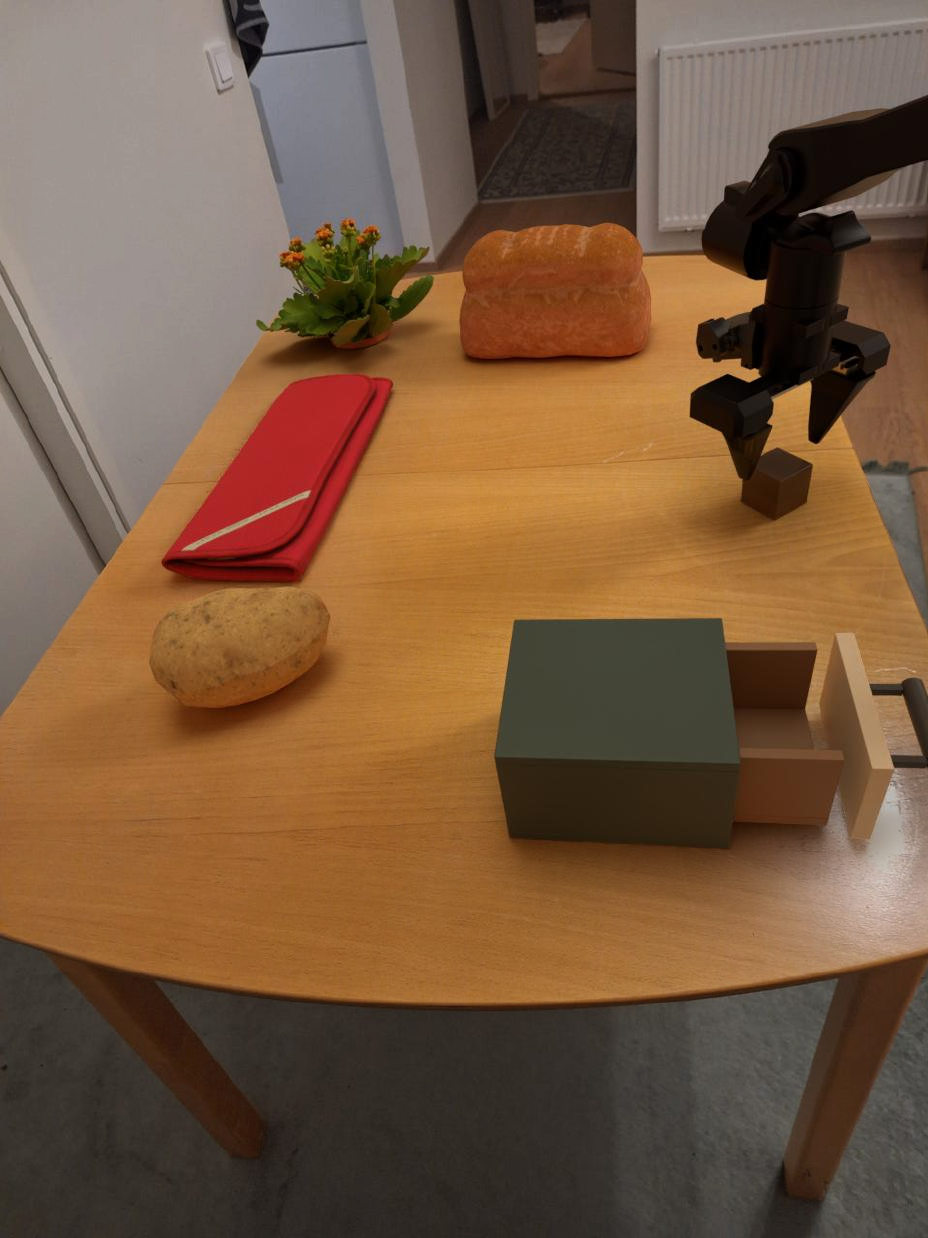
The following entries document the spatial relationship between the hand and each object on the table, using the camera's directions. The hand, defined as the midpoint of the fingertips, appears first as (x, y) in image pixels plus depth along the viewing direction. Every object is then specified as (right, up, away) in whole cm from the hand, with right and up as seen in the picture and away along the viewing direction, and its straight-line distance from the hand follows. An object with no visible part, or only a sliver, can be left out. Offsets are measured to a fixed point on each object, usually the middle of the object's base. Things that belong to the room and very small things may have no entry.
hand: (779, 460), depth 76 cm
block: (+1, -4, +3) cm, 5 cm away
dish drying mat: (-50, +2, +21) cm, 54 cm away
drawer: (-8, -25, -20) cm, 33 cm away
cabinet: (-19, -26, -18) cm, 37 cm away
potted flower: (-45, +29, +50) cm, 73 cm away
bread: (-17, +24, +38) cm, 48 cm away
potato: (-48, -21, -5) cm, 53 cm away
